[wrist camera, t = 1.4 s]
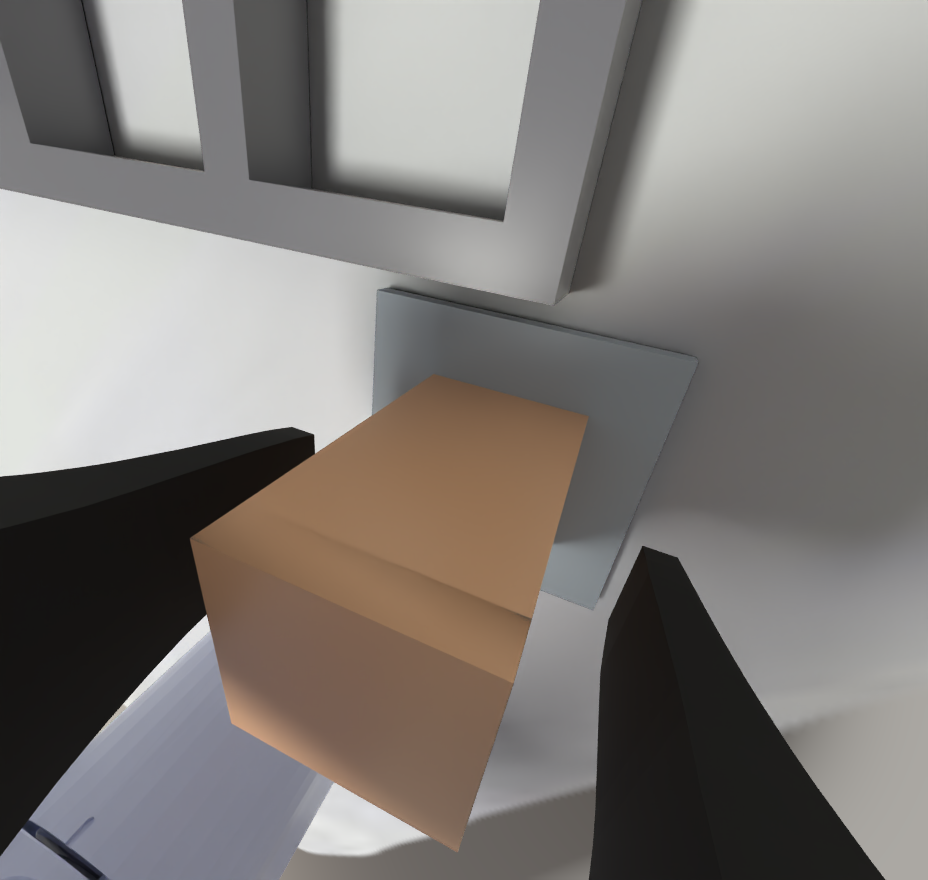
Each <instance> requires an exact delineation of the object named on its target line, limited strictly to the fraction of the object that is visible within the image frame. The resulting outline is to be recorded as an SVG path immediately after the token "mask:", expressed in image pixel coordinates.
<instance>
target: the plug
mask: <svg viewBox="0 0 928 880" xmlns="http://www.w3.org/2000/svg"><path fill="white" fill-rule="evenodd" d="M588 417H589V416H586V415H582V414H579V413H575V412H571V411H568V410H564V409H560V408H557V407H553V406H549V405H546V404H542V403H538V402H535V401H531V400H527V399H524V398H520V397H516V396H513V395H509V394H505V393H502V392H498V391H494V390H491V389H487V388H483V387H480V386H476V385H472V384H469V383H465V382H461V381H458V380H454V379H450V378H447V377H443V376H439V375H436V374H433V375H431V376H430V377H428V378H427V379H425V380H424V381H423V382H421V383H420V384H418V385H417V386H415V387H414V388H412V389H411V390H409V391H408V392H406V393H405V394H403V395H402V396H400V397H399V398H397V399H396V400H394V401H393V402H391V403H390V404H388V405H387V406H385V407H384V408H382V409H381V410H379V411H378V412H377V413H375V414H374V415H372V416H371V417H369V418H368V419H366V420H365V421H363V422H362V423H360V424H359V425H357V426H356V427H354V428H353V429H351V430H350V431H348V432H347V433H345V434H344V435H342V436H341V437H339V438H338V439H336V440H335V441H333V442H332V443H330V444H329V445H328V446H326V447H325V448H323V449H322V450H320V451H319V452H317V453H316V454H314V455H313V456H311V457H310V458H308V459H307V460H305V461H304V462H302V463H301V464H299V465H298V466H296V467H295V468H293V469H292V470H290V471H289V472H287V473H286V474H284V475H283V476H282V477H280V478H279V479H277V480H276V481H274V482H273V483H271V484H270V485H268V486H267V487H265V488H264V489H262V490H261V491H259V492H258V493H256V494H255V495H253V496H252V497H250V498H249V499H247V500H246V501H244V502H243V503H241V504H240V505H238V506H237V507H236V508H234V509H233V510H231V511H230V512H228V513H227V514H225V515H224V516H222V517H221V518H219V519H218V520H216V521H215V522H213V523H212V524H210V525H209V526H207V527H206V528H204V529H203V530H201V531H200V532H198V533H197V534H195V535H194V536H192V537H191V538H190V542H191V546H192V551H193V555H194V559H195V564H196V568H197V573H198V577H199V582H200V586H201V590H202V595H203V599H204V604H205V608H206V613H207V617H208V622H209V626H210V630H211V635H212V639H213V644H214V648H215V653H216V657H217V661H218V666H219V670H220V675H221V679H222V684H223V688H224V692H225V697H226V701H227V706H228V710H229V715H230V719H231V723H232V724H233V725H235V726H237V727H239V728H240V729H242V730H244V731H246V732H247V733H249V734H251V735H253V736H254V737H256V738H258V739H260V740H261V741H263V742H265V743H267V744H268V745H270V746H272V747H274V748H275V749H277V750H279V751H281V752H282V753H284V754H286V755H288V756H289V757H291V758H293V759H295V760H296V761H298V762H300V763H302V764H303V765H305V766H307V767H309V768H310V769H312V770H314V771H316V772H317V773H319V774H321V775H323V776H324V777H326V778H328V779H330V780H331V781H333V782H335V783H337V784H338V785H340V786H342V787H344V788H345V789H347V790H349V791H351V792H352V793H354V794H356V795H358V796H359V797H361V798H363V799H365V800H366V801H368V802H370V803H372V804H373V805H375V806H377V807H379V808H380V809H382V810H384V811H386V812H387V813H389V814H391V815H393V816H394V817H396V818H398V819H400V820H401V821H403V822H405V823H407V824H408V825H410V826H412V827H414V828H415V829H417V830H419V831H421V832H422V833H424V834H426V835H428V836H429V837H431V838H433V839H435V840H436V841H438V842H440V843H442V844H444V845H445V846H447V847H449V848H450V849H452V850H454V851H456V852H458V849H459V846H460V843H461V840H462V837H463V834H464V831H465V828H466V825H467V822H468V819H469V816H470V813H471V810H472V807H473V804H474V801H475V798H476V795H477V792H478V789H479V786H480V783H481V780H482V777H483V774H484V771H485V768H486V765H487V762H488V759H489V756H490V753H491V750H492V747H493V744H494V741H495V738H496V735H497V732H498V729H499V726H500V723H501V720H502V717H503V714H504V711H505V708H506V705H507V702H508V699H509V696H510V693H511V690H512V687H513V684H514V680H515V677H516V673H517V670H518V666H519V662H520V659H521V655H522V652H523V648H524V645H525V641H526V638H527V634H528V630H529V627H530V623H531V620H532V616H533V613H534V609H535V606H536V602H537V599H538V595H539V591H540V588H541V584H542V581H543V577H544V574H545V570H546V567H547V563H548V559H549V556H550V552H551V549H552V545H553V542H554V538H555V535H556V531H557V527H558V524H559V520H560V517H561V513H562V510H563V506H564V503H565V499H566V496H567V492H568V488H569V485H570V481H571V478H572V474H573V471H574V467H575V464H576V460H577V456H578V453H579V449H580V446H581V442H582V439H583V435H584V432H585V428H586V424H587V421H588Z"/></svg>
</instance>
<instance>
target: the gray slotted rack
mask: <svg viewBox="0 0 928 880" xmlns="http://www.w3.org/2000/svg"><path fill="white" fill-rule="evenodd" d="M182 3H183V11H184V19H185V26H186V34H187V42H188V49H189V57H190V64H191V72H192V80H193V87H194V95H195V103H196V110H197V118H198V125H199V133H200V141H201V148H202V156H203V164H204V171H202V170H196V169H190V168H184V167H178V166H172V165H166V164H160V163H154V162H148V161H142V160H136V159H130V158H124V157H118V156H114V151H113V147H112V142H111V137H110V133H109V128H108V123H107V119H106V114H105V109H104V105H103V100H102V96H101V91H100V86H99V82H98V77H97V72H96V68H95V63H94V58H93V54H92V49H91V44H90V40H89V35H88V30H87V26H86V21H85V16H84V12H83V7H82V2H81V0H0V189H5V190H10V191H15V192H19V193H24V194H29V195H33V196H38V197H43V198H48V199H52V200H57V201H62V202H66V203H71V204H76V205H81V206H85V207H90V208H95V209H99V210H104V211H109V212H114V213H118V214H123V215H128V216H132V217H137V218H142V219H146V220H151V221H156V222H161V223H165V224H170V225H175V226H179V227H184V228H189V229H194V230H198V231H203V232H208V233H212V234H217V235H222V236H227V237H231V238H236V239H241V240H245V241H250V242H255V243H260V244H264V245H269V246H274V247H278V248H283V249H288V250H293V251H297V252H302V253H307V254H311V255H316V256H321V257H325V258H330V259H335V260H340V261H344V262H349V263H354V264H358V265H363V266H368V267H373V268H377V269H382V270H387V271H391V272H396V273H401V274H406V275H410V276H415V277H420V278H424V279H429V280H434V281H439V282H443V283H448V284H453V285H457V286H462V287H467V288H471V289H476V290H481V291H486V292H490V293H495V294H500V295H504V296H509V297H514V298H519V299H523V300H528V301H533V302H537V303H542V304H547V305H552V306H554V305H555V304H556V303H558V302H559V301H560V300H561V299H562V298H564V297H565V296H566V295H567V294H569V291H570V287H571V283H572V279H573V275H574V271H575V267H576V263H577V259H578V255H579V251H580V247H581V243H582V239H583V235H584V231H585V227H586V223H587V219H588V215H589V211H590V207H591V203H592V199H593V195H594V191H595V187H596V183H597V179H598V175H599V171H600V167H601V163H602V159H603V155H604V151H605V147H606V143H607V139H608V135H609V131H610V127H611V123H612V119H613V115H614V111H615V107H616V103H617V99H618V95H619V91H620V87H621V83H622V79H623V75H624V71H625V67H626V63H627V60H628V56H629V52H630V48H631V44H632V40H633V36H634V32H635V28H636V24H637V20H638V16H639V12H640V8H641V4H642V0H540V4H539V11H538V17H537V23H536V29H535V35H534V41H533V47H532V53H531V59H530V65H529V71H528V77H527V83H526V89H525V95H524V101H523V107H522V113H521V119H520V125H519V131H518V137H517V143H516V149H515V155H514V161H513V167H512V173H511V179H510V185H509V191H508V197H507V203H506V209H505V215H504V221H503V220H497V219H491V218H485V217H479V216H473V215H467V214H461V213H455V212H449V211H443V210H437V209H431V208H425V207H419V206H413V205H407V204H400V203H394V202H388V201H382V200H376V199H370V198H364V197H358V196H352V195H346V194H340V193H334V192H328V191H322V190H316V189H312V181H311V145H310V109H309V74H308V38H307V2H306V0H182Z"/></svg>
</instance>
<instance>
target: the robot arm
mask: <svg viewBox="0 0 928 880" xmlns="http://www.w3.org/2000/svg"><path fill="white" fill-rule="evenodd" d="M314 454H315V445H314V434H311V433H308V432H305V431H302V430H299V429H296V428H293V427H289V428H281V429H274V430H269V431H263V432H258V433H253V434H248V435H244V436H239V437H234V438H230V439H225V440H220V441H216V442H211V443H207V444H202V445H198V446H193V447H188V448H184V449H179V450H174V451H169V452H164V453H158V454H153V455H148V456H143V457H138V458H132V459H127V460H122V461H117V462H111V463H105V464H99V465H92V466H86V467H79V468H72V469H64V470H57V471H49V472H42V473H33V474H25V475H14V476H3V477H0V880H279V879H280V877H281V875H282V874H283V872H284V870H285V868H286V867H287V865H288V863H289V861H290V859H291V857H292V856H293V854H294V852H295V850H296V849H297V847H298V845H299V843H300V841H301V840H302V838H303V836H304V834H305V833H306V831H307V829H308V827H309V825H310V824H311V822H312V820H313V818H314V816H315V815H316V813H317V811H318V809H319V808H320V806H321V804H322V802H323V800H324V799H325V797H326V795H327V793H328V791H329V790H330V788H331V786H332V784H333V783H334V782H333V781H331V780H330V779H328V778H326V777H324V776H323V775H321V774H319V773H317V772H316V771H314V770H312V769H310V768H309V767H307V766H305V765H303V764H302V763H300V762H298V761H296V760H295V759H293V758H291V757H289V756H288V755H286V754H284V753H282V752H281V751H279V750H277V749H275V748H274V747H272V746H270V745H268V744H267V743H265V742H263V741H261V740H260V739H258V738H256V737H254V736H253V735H251V734H249V733H247V732H246V731H244V730H242V729H240V728H239V727H237V726H235V725H233V724H232V723H231V719H230V715H229V710H228V706H227V701H226V697H225V692H224V688H223V684H222V679H221V675H220V670H219V666H218V661H217V657H216V653H215V648H214V644H213V639H212V635H211V631H210V632H209V633H207V634H206V635H205V636H204V637H203V638H202V639H201V640H200V641H199V642H198V643H197V644H195V645H194V646H193V647H192V648H191V649H190V650H189V651H188V652H187V653H186V654H185V655H184V656H182V657H181V658H180V659H179V660H178V661H177V662H176V663H175V664H174V665H173V666H172V667H171V668H169V669H168V670H167V671H166V672H165V673H164V674H163V675H162V676H161V677H160V678H159V679H157V680H156V681H155V682H154V683H153V684H152V685H151V686H150V687H149V688H148V689H147V690H146V691H144V692H143V693H142V694H141V695H140V696H139V697H138V698H137V699H136V700H135V701H134V702H133V703H131V704H130V705H129V706H128V707H127V708H126V709H125V710H124V711H123V712H122V713H121V714H120V715H118V716H117V717H116V718H115V719H114V720H113V721H112V722H111V723H110V724H109V725H108V726H107V727H105V728H104V730H102V731H101V732H100V733H99V734H98V732H99V731H100V730H101V729H102V727H103V726H104V725H105V724H106V723H107V721H108V720H109V719H110V718H111V717H112V715H114V713H115V712H116V711H117V710H118V709H119V708H120V707H121V705H122V704H123V703H124V702H125V701H126V700H127V699H128V698H129V696H130V695H131V694H132V693H133V692H134V691H135V690H136V688H137V687H138V686H139V685H140V684H141V683H142V682H143V680H144V679H145V678H146V677H147V676H148V675H149V674H150V673H151V672H152V670H153V669H154V668H155V667H156V666H157V665H158V664H159V663H160V662H161V661H162V660H163V659H164V658H165V656H166V655H167V654H168V653H169V652H170V651H171V650H172V649H173V648H174V647H175V646H176V645H177V644H178V642H179V641H180V640H181V639H182V638H183V637H184V636H185V635H186V634H187V633H188V632H189V631H190V630H191V629H192V628H193V627H194V626H195V625H196V624H197V623H198V622H199V621H200V620H201V619H202V618H203V617H204V616H205V615H206V614H207V613H206V608H205V604H204V599H203V595H202V590H201V586H200V582H199V577H198V573H197V568H196V564H195V559H194V555H193V551H192V546H191V542H190V538H191V537H192V536H194V535H195V534H197V533H198V532H200V531H201V530H203V529H204V528H206V527H207V526H209V525H210V524H212V523H213V522H215V521H216V520H218V519H219V518H221V517H222V516H224V515H225V514H227V513H228V512H230V511H231V510H233V509H234V508H236V507H237V506H238V505H240V504H241V503H243V502H244V501H246V500H247V499H249V498H250V497H252V496H253V495H255V494H256V493H258V492H259V491H261V490H262V489H264V488H265V487H267V486H268V485H270V484H271V483H273V482H274V481H276V480H277V479H279V478H280V477H282V476H283V475H284V474H286V473H287V472H289V471H290V470H292V469H293V468H295V467H296V466H298V465H299V464H301V463H302V462H304V461H305V460H307V459H308V458H310V457H311V456H313V455H314ZM96 734H98V735H97V736H96ZM95 736H96V737H95ZM94 737H95V738H94ZM589 880H885V879H884V877H883V876H882V875H881V873H880V872H879V871H878V870H877V868H876V867H875V866H874V864H873V863H872V862H871V860H870V859H869V858H868V856H867V855H866V854H865V852H864V851H863V849H862V848H861V847H860V845H859V844H858V843H857V841H856V840H855V838H854V837H853V836H852V835H851V833H850V832H849V830H848V829H847V828H846V826H845V825H844V824H843V822H842V821H841V819H840V818H839V817H838V815H837V814H836V812H835V811H834V810H833V808H832V807H831V806H830V804H829V803H828V802H827V800H826V799H825V797H824V796H823V795H822V793H821V792H820V791H819V789H818V788H817V787H816V785H815V783H814V782H813V781H812V779H811V778H810V776H809V775H808V773H807V772H806V771H805V769H804V768H803V766H802V765H801V763H800V762H799V760H798V759H797V757H796V756H795V755H794V753H793V752H792V750H791V749H790V747H789V746H788V744H787V742H786V741H785V739H784V738H783V736H782V735H781V733H780V732H779V730H778V729H777V727H776V726H775V724H774V723H773V721H772V719H771V718H770V716H769V715H768V713H767V712H766V710H765V709H764V707H763V706H762V704H761V703H760V701H759V699H758V698H757V696H756V695H755V693H754V691H753V690H752V688H751V687H750V685H749V683H748V682H747V680H746V678H745V677H744V675H743V674H742V672H741V670H740V668H739V667H738V665H737V663H736V662H735V660H734V658H733V657H732V655H731V653H730V651H729V650H728V648H727V646H726V645H725V643H724V641H723V639H722V638H721V636H720V634H719V632H718V631H717V629H716V627H715V625H714V623H713V622H712V620H711V618H710V616H709V614H708V613H707V611H706V609H705V607H704V605H703V603H702V602H701V600H700V598H699V596H698V594H697V592H696V590H695V589H694V587H693V585H692V583H691V581H690V579H689V578H688V576H687V574H686V572H685V570H684V568H683V567H682V565H681V563H680V561H679V559H678V558H677V557H674V556H671V555H668V554H665V553H662V552H659V551H656V550H654V549H651V548H648V547H645V546H642V548H641V550H640V553H639V555H638V557H637V559H636V561H635V563H634V566H633V568H632V570H631V572H630V574H629V577H628V579H627V581H626V583H625V585H624V587H623V590H622V592H621V594H620V596H619V598H618V600H617V603H616V605H615V607H614V609H613V611H612V613H611V616H610V618H609V620H608V626H607V633H606V639H605V645H604V651H603V658H602V665H601V673H600V696H599V722H598V752H597V781H596V810H595V824H594V839H593V850H592V858H591V866H590V875H589Z"/></svg>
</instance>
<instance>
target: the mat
mask: <svg viewBox="0 0 928 880" xmlns="http://www.w3.org/2000/svg"><path fill="white" fill-rule="evenodd" d="M697 365H698V361H697V358H696V357H694V356H689V355H685V354H680V353H676V352H671V351H667V350H662V349H658V348H653V347H649V346H644V345H640V344H635V343H631V342H627V341H622V340H618V339H613V338H609V337H604V336H600V335H595V334H591V333H586V332H582V331H577V330H573V329H568V328H564V327H560V326H555V325H551V324H546V323H542V322H537V321H533V320H528V319H524V318H519V317H515V316H510V315H506V314H501V313H497V312H492V311H488V310H484V309H479V308H475V307H470V306H466V305H461V304H457V303H452V302H448V301H443V300H439V299H434V298H430V297H425V296H421V295H417V294H412V293H408V292H403V291H399V290H394V289H390V288H385V289H380V290H377V303H376V328H375V353H374V378H373V403H372V415H374V414H375V413H377V412H378V411H379V410H381V409H382V408H384V407H385V406H387V405H388V404H390V403H391V402H393V401H394V400H396V399H397V398H399V397H400V396H402V395H403V394H405V393H406V392H408V391H409V390H411V389H412V388H414V387H415V386H417V385H418V384H420V383H421V382H423V381H424V380H425V379H427V378H428V377H430V376H431V375H433V374H436V375H439V376H443V377H447V378H450V379H454V380H458V381H461V382H465V383H469V384H472V385H476V386H480V387H483V388H487V389H491V390H494V391H498V392H502V393H505V394H509V395H513V396H516V397H520V398H524V399H527V400H531V401H535V402H538V403H542V404H546V405H549V406H553V407H557V408H560V409H564V410H568V411H571V412H575V413H579V414H582V415H586V416H589V417H588V421H587V424H586V428H585V432H584V435H583V439H582V442H581V446H580V449H579V453H578V456H577V460H576V464H575V467H574V471H573V474H572V478H571V481H570V485H569V488H568V492H567V496H566V499H565V503H564V506H563V510H562V513H561V517H560V520H559V524H558V527H557V531H556V535H555V538H554V542H553V545H552V549H551V552H550V556H549V559H548V563H547V567H546V570H545V574H544V577H543V581H542V584H541V588H540V590H541V591H544V592H547V593H549V594H552V595H554V596H557V597H560V598H562V599H565V600H567V601H570V602H573V603H575V604H578V605H580V606H583V607H586V608H588V609H591V610H594V608H595V605H596V603H597V601H598V598H599V596H600V594H601V591H602V589H603V586H604V584H605V582H606V579H607V577H608V575H609V572H610V570H611V568H612V565H613V563H614V561H615V558H616V556H617V554H618V551H619V549H620V547H621V544H622V542H623V539H624V537H625V535H626V532H627V530H628V528H629V525H630V523H631V521H632V518H633V516H634V514H635V511H636V509H637V507H638V504H639V502H640V499H641V497H642V495H643V492H644V490H645V488H646V485H647V483H648V481H649V478H650V476H651V474H652V471H653V469H654V467H655V464H656V462H657V460H658V457H659V455H660V452H661V450H662V448H663V445H664V443H665V441H666V438H667V436H668V434H669V431H670V429H671V427H672V424H673V422H674V420H675V417H676V415H677V413H678V410H679V408H680V405H681V403H682V401H683V398H684V396H685V394H686V391H687V389H688V387H689V384H690V382H691V380H692V377H693V375H694V373H695V370H696V368H697Z"/></svg>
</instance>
